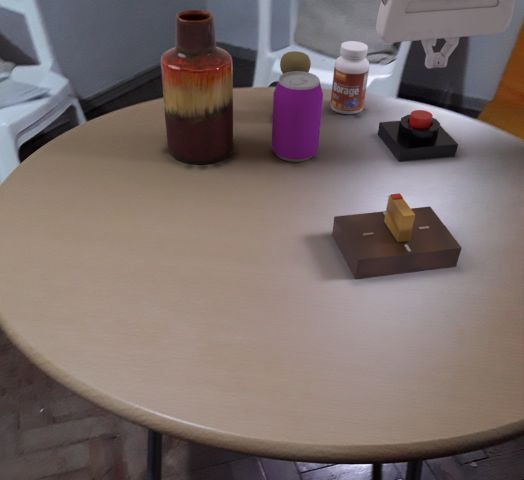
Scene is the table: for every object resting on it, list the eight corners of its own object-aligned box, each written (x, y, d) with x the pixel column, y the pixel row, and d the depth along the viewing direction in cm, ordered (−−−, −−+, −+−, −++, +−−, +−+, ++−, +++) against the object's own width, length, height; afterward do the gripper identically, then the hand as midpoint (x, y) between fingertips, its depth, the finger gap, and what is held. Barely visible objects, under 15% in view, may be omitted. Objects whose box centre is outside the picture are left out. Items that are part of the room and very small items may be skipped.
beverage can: (298, 137, 108) (303, 65, 99) (327, 156, 103) (334, 82, 95) (262, 149, 104) (264, 75, 96) (289, 168, 100) (294, 93, 92)
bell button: (425, 119, 106) (427, 109, 105) (434, 128, 103) (436, 118, 102) (405, 120, 105) (407, 110, 104) (413, 130, 103) (415, 120, 101)
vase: (193, 171, 98) (185, 33, 84) (155, 146, 104) (141, 12, 90) (246, 151, 104) (247, 17, 89) (207, 128, 109) (202, -1, 95)
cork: (288, 127, 110) (291, 62, 103) (268, 114, 114) (271, 51, 106) (315, 120, 113) (321, 56, 105) (296, 107, 116) (300, 45, 109)
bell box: (430, 129, 111) (435, 107, 108) (455, 156, 104) (461, 133, 101) (377, 134, 109) (381, 111, 106) (398, 161, 102) (403, 138, 100)
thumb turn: (409, 241, 81) (415, 212, 78) (397, 242, 81) (403, 214, 78) (394, 220, 84) (400, 192, 82) (383, 221, 84) (388, 193, 81)
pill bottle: (325, 111, 115) (331, 48, 107) (335, 99, 119) (342, 37, 112) (358, 118, 114) (366, 54, 106) (367, 105, 118) (376, 42, 110)
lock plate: (425, 224, 89) (430, 205, 87) (456, 266, 83) (462, 246, 80) (331, 235, 87) (334, 215, 85) (355, 279, 80) (358, 259, 78)
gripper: (392, -24, 84) (378, 80, 94) (531, -33, 87) (504, 69, 97) (376, -37, 88) (364, 64, 98) (509, -45, 91) (485, 53, 101)
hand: (435, 66), depth 98 cm, fingers closed
